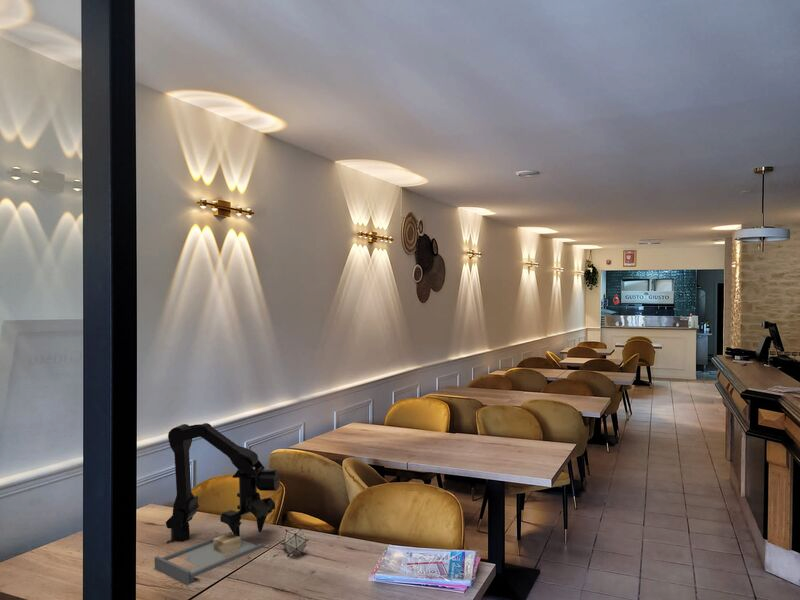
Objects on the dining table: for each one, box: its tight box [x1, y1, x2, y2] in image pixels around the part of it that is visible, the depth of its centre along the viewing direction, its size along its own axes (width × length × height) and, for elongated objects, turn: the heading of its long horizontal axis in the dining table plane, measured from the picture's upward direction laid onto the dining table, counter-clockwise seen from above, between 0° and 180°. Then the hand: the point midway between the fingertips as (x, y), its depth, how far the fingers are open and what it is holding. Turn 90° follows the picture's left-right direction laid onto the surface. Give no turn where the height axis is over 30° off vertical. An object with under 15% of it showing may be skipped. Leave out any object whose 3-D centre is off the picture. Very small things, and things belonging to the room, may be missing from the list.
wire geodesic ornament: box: [280, 526, 309, 558], centre depth 190 cm, size 9×8×10 cm
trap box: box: [154, 531, 264, 585], centre depth 187 cm, size 18×28×4 cm, turn 142°
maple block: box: [213, 532, 241, 554], centre depth 192 cm, size 6×6×4 cm
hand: (249, 536), depth 199 cm, fingers open, 9 cm apart
